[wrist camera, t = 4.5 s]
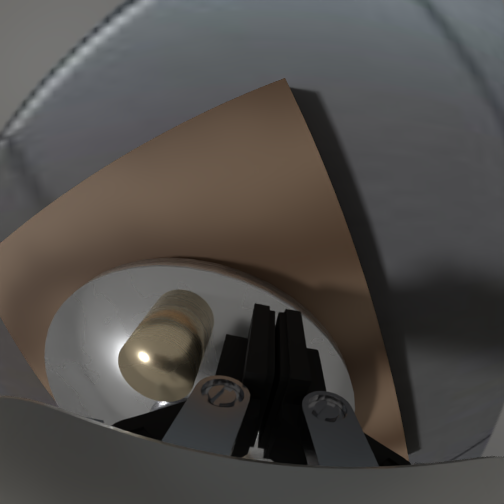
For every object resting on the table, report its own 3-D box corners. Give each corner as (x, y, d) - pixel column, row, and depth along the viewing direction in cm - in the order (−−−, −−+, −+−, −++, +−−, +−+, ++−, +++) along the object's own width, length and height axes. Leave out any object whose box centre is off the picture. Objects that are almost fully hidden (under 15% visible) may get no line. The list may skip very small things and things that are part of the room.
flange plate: (400, 419, 15) (424, 483, 10) (187, 505, 18) (175, 553, 14) (197, 174, 12) (151, 184, 7) (16, 364, 16) (-26, 405, 11)
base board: (404, 450, 18) (422, 506, 13) (168, 498, 21) (154, 544, 16) (283, 86, 12) (289, 45, 7) (-10, 258, 16) (-66, 286, 11)
